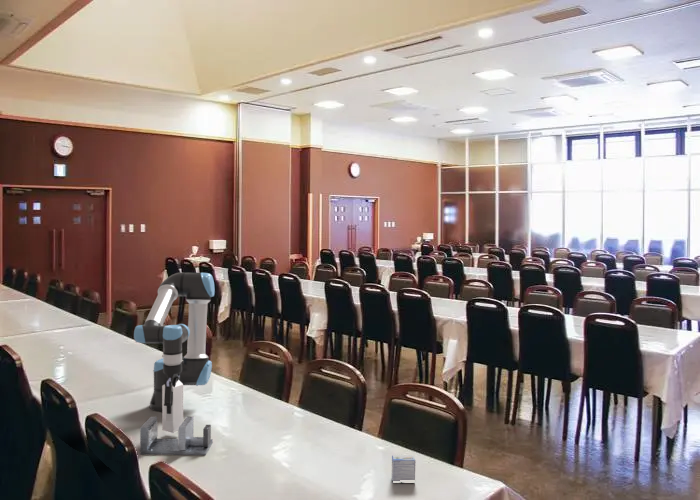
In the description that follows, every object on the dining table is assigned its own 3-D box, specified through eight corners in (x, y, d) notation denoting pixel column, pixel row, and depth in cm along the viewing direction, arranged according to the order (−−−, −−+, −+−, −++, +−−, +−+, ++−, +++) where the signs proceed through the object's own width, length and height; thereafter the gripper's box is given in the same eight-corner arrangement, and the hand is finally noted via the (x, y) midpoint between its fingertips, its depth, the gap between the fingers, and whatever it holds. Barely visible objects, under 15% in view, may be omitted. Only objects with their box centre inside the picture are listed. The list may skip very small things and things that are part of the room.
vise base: (150, 442, 231) (150, 416, 231) (212, 442, 232) (212, 417, 231) (140, 454, 219) (140, 427, 219) (205, 455, 220) (205, 428, 219)
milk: (162, 430, 236) (161, 378, 235) (172, 425, 242) (172, 374, 240) (173, 433, 234) (172, 380, 232) (183, 428, 239) (183, 376, 238)
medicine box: (413, 478, 203) (413, 454, 203) (415, 484, 199) (415, 459, 198) (391, 478, 203) (391, 454, 203) (392, 484, 199) (393, 459, 198)
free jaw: (185, 438, 231) (185, 416, 231) (212, 438, 232) (212, 416, 231) (177, 450, 219) (177, 427, 219) (205, 450, 220) (205, 427, 219)
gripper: (170, 356, 246) (171, 407, 248) (155, 370, 225) (155, 426, 227) (188, 356, 246) (188, 408, 248) (174, 370, 225) (174, 426, 227)
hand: (172, 416), depth 237 cm, fingers closed on milk, 8 cm apart
